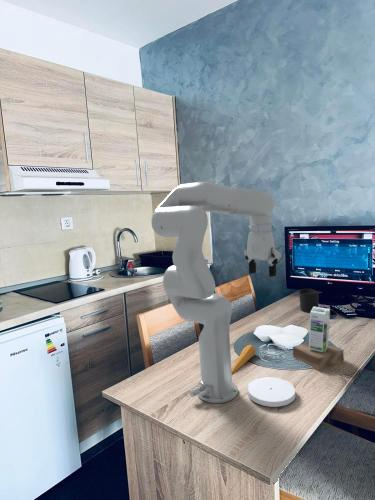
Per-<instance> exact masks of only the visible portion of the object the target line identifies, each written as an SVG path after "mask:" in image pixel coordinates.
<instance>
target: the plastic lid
mask: <svg viewBox="0 0 375 500" xmlns="http://www.w3.org/2000/svg"><path fill="white" fill-rule="evenodd" d="M246 388H247V396H248V398H249V399H250V400H251V401H252V402H254V403H256V404H257V405H260V406H264V407H271V408H272V407H273V408H277V407H280V408H281V407H283V406H284V407H285V406H287V405H289V404H291V403H292V402H293V401H294V400H295V399H296V388H295V385H293V384H292V383H291V382H289V381H287V380H286V379H283V378H280V377H279V378H278V377H272V376H271V377H270V376H267V377H266V376H264V377H260V378H256V379H253V380H252V381H250V382H249V383H248V384H247V387H246Z"/></svg>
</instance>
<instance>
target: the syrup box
mask: <svg viewBox="0 0 375 500" xmlns="http://www.w3.org/2000/svg"><path fill="white" fill-rule="evenodd" d="M330 315H331V309H330V308H326V307H319V306H318V307H313V308H312V310H311V312H309V333H308V334H309V337H308V342H309V350H315V351H319V352H323V353H325V352H326V349H327V347H328V344H329V331H330V317H331V316H330Z"/></svg>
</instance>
